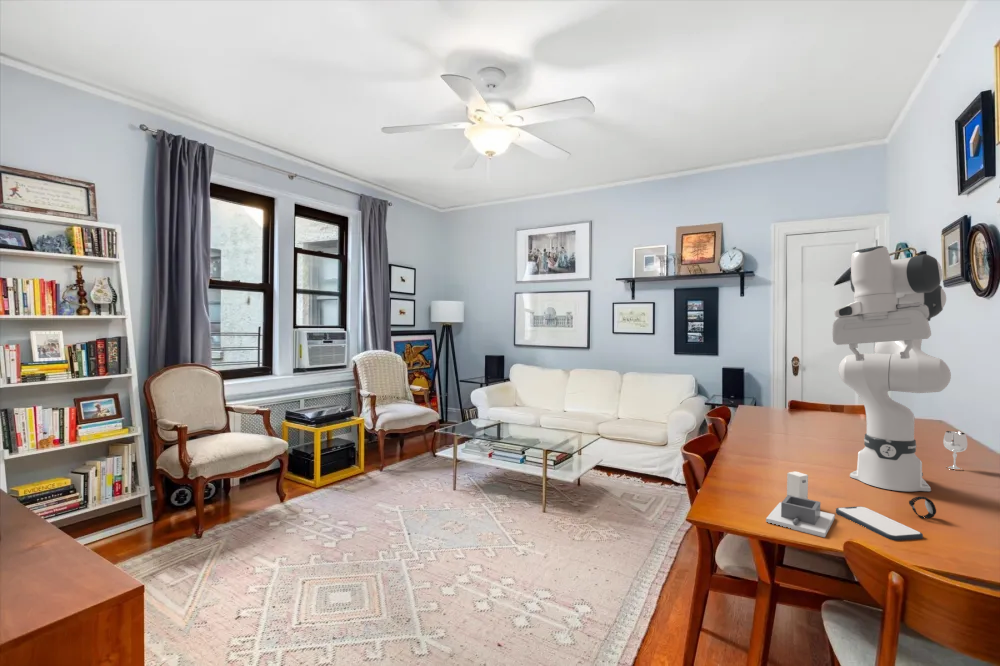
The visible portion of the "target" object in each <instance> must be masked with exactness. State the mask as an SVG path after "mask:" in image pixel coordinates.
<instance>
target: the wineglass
mask: <svg viewBox="0 0 1000 666" xmlns="http://www.w3.org/2000/svg"><path fill="white" fill-rule="evenodd" d="M942 442H943V446H944V448H945V449H946V450H949V451H950V452H953V453H952V457H953V465H951V466H949V465H948V466H949V467H948V468H951V469H960V468H961V467H958V466H957V464H956V461H957V460H956V459H957V456H958V454H957V453H962V452H965V451H966V450H967V448H968V438H967V434H966V433H965V432H961V431H954V430H953V431H951V430H947V431H945V432H944V435H943V441H942Z"/></svg>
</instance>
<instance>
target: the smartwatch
mask: <svg viewBox="0 0 1000 666" xmlns="http://www.w3.org/2000/svg"><path fill="white" fill-rule="evenodd" d="M919 500H925V501H924V505H925V508H926V510H927V514H925V515H919V513H917V509H916V508H915V504H916V503H915V502H917V501H919ZM908 504H909V506H910V507H911V509H912V511H913V512H914V513H915V515H916V516H917V517H920V518H921V519H924V517H925V518H927V519H931V518H934V517H935V516H936V514H937V508H936V505H935V503H934V502H933V500H931V499H929V498H928V497H926V496H916V497H912V498H911V500H908ZM923 516H924V517H923Z"/></svg>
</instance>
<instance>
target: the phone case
mask: <svg viewBox="0 0 1000 666" xmlns="http://www.w3.org/2000/svg"><path fill="white" fill-rule="evenodd" d="M836 513H837V514H836ZM835 514H836V515H838V516H840V517H843V519H846V520H848V521H850V520H851V521H850V522H852V521H853V523H854V522H855V523H854V524H856V523H857V524H856V525H858V524H859V526H861V525H862V526H861V527H863V526H864V527H863V528H865V527H866V528H865V529H866V530H869V531H871V532H873V533H875V534H878V535H880V536H882V537H884V538H886V539H888V540H890V541H898V542H899V541H911V540H922V539H923V538H924V535H923V532H920V531H919V530H916V529H914V528H912V527H909V526H907V525H906V524H903V523H901V522H898V520H897V521H896V520H894V519H892V518H890V517H887V516H886V515H883V514H881V513H880V512H877V511H874V510H872V509H870V508H868V507H865V506H845V507H836V508H835Z"/></svg>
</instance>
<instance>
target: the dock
mask: <svg viewBox="0 0 1000 666" xmlns="http://www.w3.org/2000/svg"><path fill="white" fill-rule="evenodd" d="M835 514H836V513H835ZM835 514H834V513H829V512H825V511H821V501H818V500H813V499H809V498H808V499H805V498H800V497H795V496H791V495H787V494H786V497H784V499H783V500H782V501H779V503H778V504H777V505H776V506H775V507H774V508H773V509H772V511H770V513H769V514H768V516H767V517H765V523H766V522H768V523H767V524H770V523H772V524H771V525H774V524H776V525H775V526H778V525H780V526H779V527H782V526H783V528H786V527H788V528H787V529H790V528H791V529H790V530H794V531H797V532H801V533H806V534H810V535H813V536H818V537H821V538H826V536H827V534H828V532H829V531H830V528H831V527H832V525H833V523H834V520H835V519H836V518H835V516H836V515H835Z"/></svg>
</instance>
